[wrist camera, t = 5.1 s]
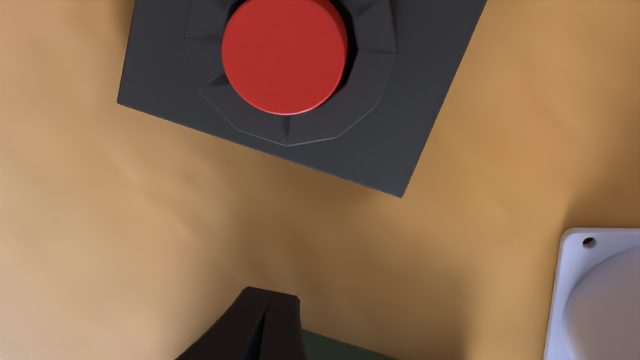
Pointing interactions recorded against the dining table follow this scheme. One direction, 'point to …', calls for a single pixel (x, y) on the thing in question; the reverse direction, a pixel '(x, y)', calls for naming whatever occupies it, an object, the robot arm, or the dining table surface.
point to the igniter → (330, 116)
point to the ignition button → (285, 53)
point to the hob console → (335, 349)
